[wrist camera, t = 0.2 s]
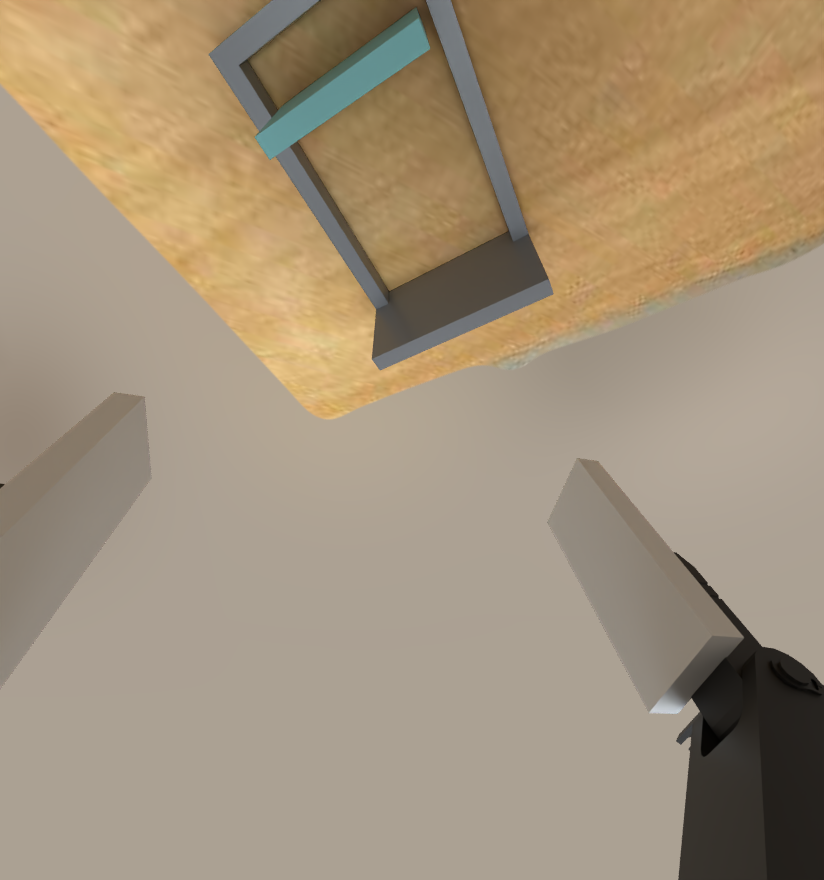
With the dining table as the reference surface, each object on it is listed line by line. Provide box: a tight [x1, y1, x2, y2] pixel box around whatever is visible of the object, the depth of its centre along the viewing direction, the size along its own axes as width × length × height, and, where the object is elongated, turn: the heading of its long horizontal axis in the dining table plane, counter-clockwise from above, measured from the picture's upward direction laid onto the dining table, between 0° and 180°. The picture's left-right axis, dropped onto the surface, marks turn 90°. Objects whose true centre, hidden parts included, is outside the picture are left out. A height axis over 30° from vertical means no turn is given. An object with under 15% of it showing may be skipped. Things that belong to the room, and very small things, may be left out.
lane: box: [209, 0, 553, 370], centre depth 28 cm, size 13×20×9 cm
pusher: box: [255, 7, 430, 160], centre depth 25 cm, size 10×1×8 cm, turn 118°
